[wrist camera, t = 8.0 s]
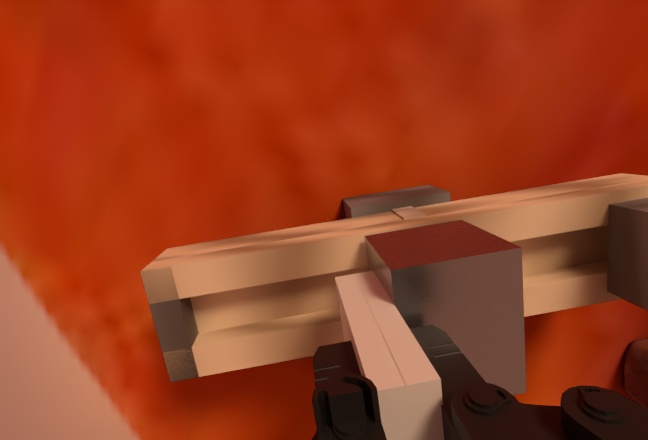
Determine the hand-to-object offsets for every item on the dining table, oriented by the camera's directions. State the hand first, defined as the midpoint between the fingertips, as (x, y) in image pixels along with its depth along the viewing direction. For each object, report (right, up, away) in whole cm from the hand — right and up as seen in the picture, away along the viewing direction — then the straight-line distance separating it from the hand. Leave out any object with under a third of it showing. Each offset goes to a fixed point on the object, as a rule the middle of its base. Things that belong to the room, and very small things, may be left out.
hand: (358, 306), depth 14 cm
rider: (+3, +1, +2) cm, 3 cm away
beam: (+3, +2, +8) cm, 8 cm away
